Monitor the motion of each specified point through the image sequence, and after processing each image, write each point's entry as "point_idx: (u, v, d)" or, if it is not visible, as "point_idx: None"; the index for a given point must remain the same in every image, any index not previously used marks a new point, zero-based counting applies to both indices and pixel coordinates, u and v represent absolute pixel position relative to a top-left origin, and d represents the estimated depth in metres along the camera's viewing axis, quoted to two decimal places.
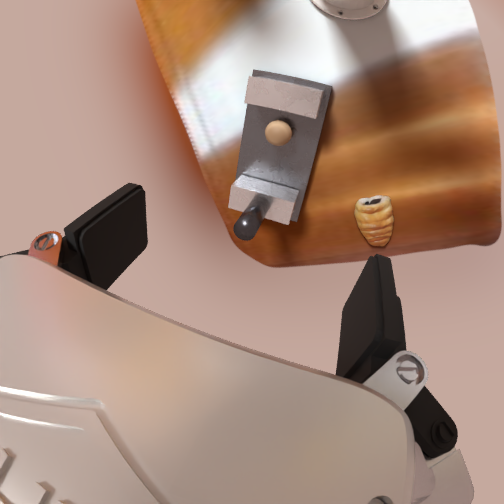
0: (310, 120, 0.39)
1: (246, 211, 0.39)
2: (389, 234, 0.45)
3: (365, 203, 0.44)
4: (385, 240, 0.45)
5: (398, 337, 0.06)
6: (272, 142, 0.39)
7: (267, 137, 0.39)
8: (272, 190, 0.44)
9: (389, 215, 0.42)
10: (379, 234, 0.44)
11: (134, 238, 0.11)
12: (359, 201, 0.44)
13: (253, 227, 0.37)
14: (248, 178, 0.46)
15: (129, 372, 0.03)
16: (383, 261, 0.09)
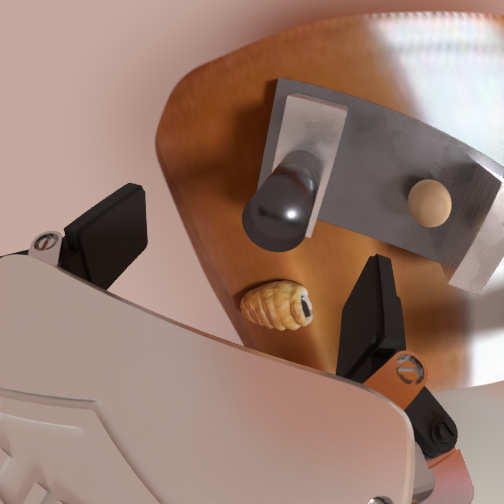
0: (431, 240, 0.24)
1: (313, 194, 0.14)
2: None
3: None
4: (252, 321, 0.36)
5: (398, 337, 0.06)
6: (422, 200, 0.19)
7: (431, 193, 0.18)
8: None
9: (290, 329, 0.34)
10: (261, 318, 0.34)
11: (134, 238, 0.11)
12: (303, 290, 0.32)
13: (286, 249, 0.13)
14: None
15: (129, 372, 0.03)
16: (383, 261, 0.09)
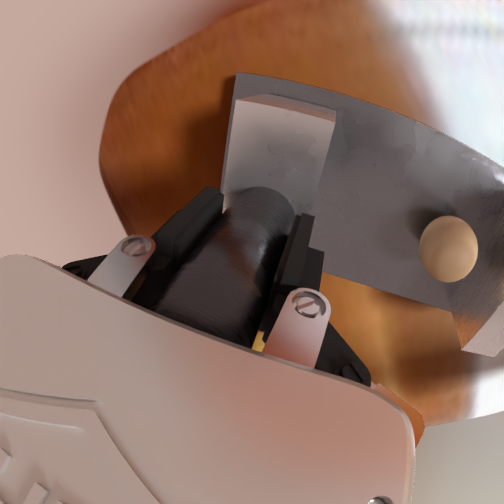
0: (443, 288, 0.18)
1: (263, 291, 0.08)
2: None
3: None
4: None
5: (298, 273, 0.08)
6: (440, 251, 0.13)
7: (455, 240, 0.12)
8: None
9: None
10: None
11: None
12: None
13: None
14: None
15: (129, 372, 0.03)
16: (305, 217, 0.10)
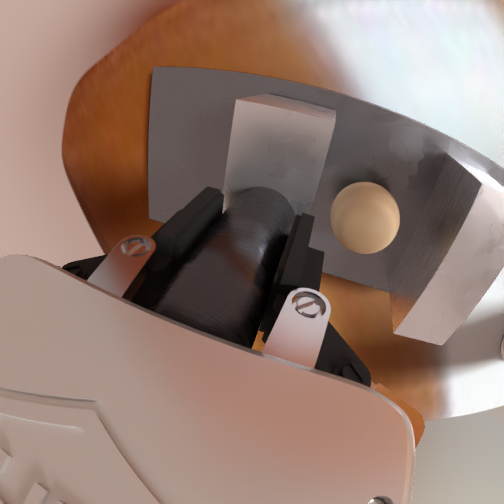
0: (379, 266, 0.18)
1: (263, 291, 0.08)
2: None
3: None
4: None
5: (298, 273, 0.08)
6: (345, 216, 0.14)
7: (361, 204, 0.13)
8: None
9: None
10: None
11: None
12: None
13: None
14: None
15: (129, 372, 0.03)
16: (305, 217, 0.10)
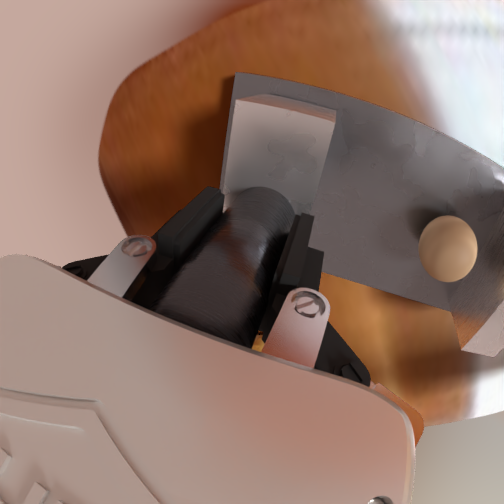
0: (443, 288, 0.18)
1: (263, 291, 0.08)
2: None
3: None
4: None
5: (298, 273, 0.08)
6: (440, 250, 0.13)
7: (454, 240, 0.12)
8: None
9: None
10: None
11: None
12: None
13: None
14: None
15: (129, 372, 0.03)
16: (305, 217, 0.10)
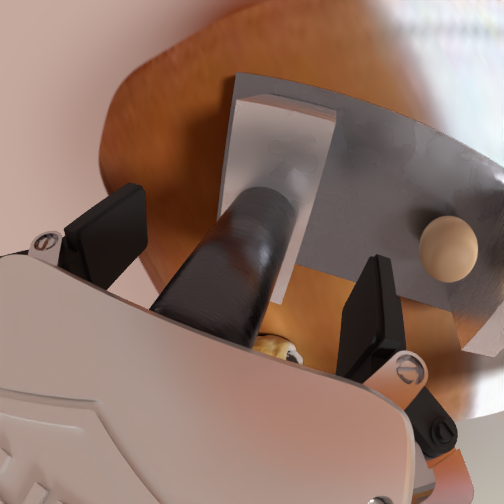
0: (443, 288, 0.18)
1: (264, 291, 0.08)
2: None
3: None
4: None
5: (398, 337, 0.06)
6: (440, 251, 0.13)
7: (455, 240, 0.12)
8: None
9: None
10: None
11: (134, 238, 0.11)
12: (288, 346, 0.27)
13: None
14: None
15: (129, 372, 0.03)
16: (383, 261, 0.09)
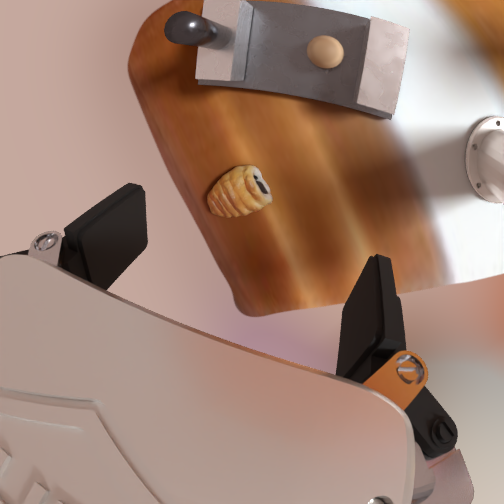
0: (344, 90, 0.27)
1: (209, 22, 0.18)
2: (228, 215, 0.40)
3: (254, 175, 0.37)
4: (219, 213, 0.40)
5: (398, 337, 0.06)
6: (313, 45, 0.23)
7: (319, 38, 0.22)
8: (240, 48, 0.25)
9: (252, 209, 0.38)
10: (225, 205, 0.39)
11: (134, 238, 0.11)
12: (254, 168, 0.36)
13: (189, 38, 0.17)
14: (250, 16, 0.24)
15: (129, 372, 0.03)
16: (383, 261, 0.09)
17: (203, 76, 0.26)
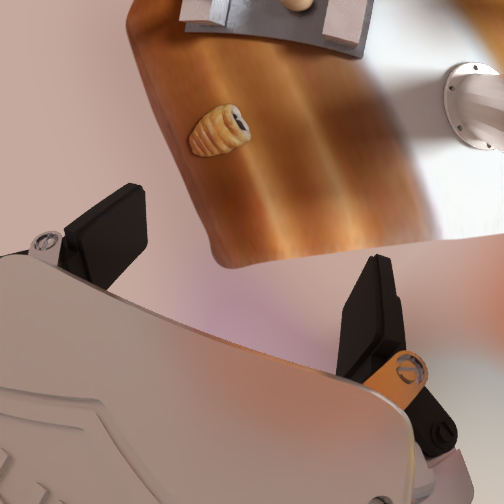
0: (316, 31, 0.26)
1: None
2: (208, 154, 0.39)
3: (233, 114, 0.36)
4: (200, 152, 0.39)
5: (398, 337, 0.06)
6: None
7: None
8: None
9: (230, 145, 0.37)
10: (204, 142, 0.38)
11: (134, 238, 0.11)
12: (233, 107, 0.35)
13: None
14: None
15: (129, 372, 0.03)
16: (383, 261, 0.09)
17: (186, 18, 0.24)
